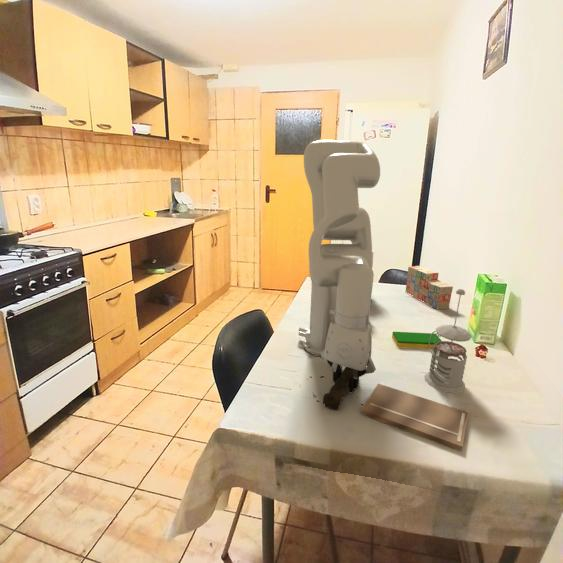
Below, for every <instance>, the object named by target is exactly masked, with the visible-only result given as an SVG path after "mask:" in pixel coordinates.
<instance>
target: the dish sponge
mask: <svg viewBox="0 0 563 563" xmlns="http://www.w3.org/2000/svg"><path fill="white" fill-rule="evenodd" d="M431 334H432V333H431V332H430V333H429V332H414V331H413V332H412V331H411V332H410V331H409V332H407V331H392V335H391V338H392V341H393V342H394V344H395V346H396V348H397V347H398V348H405V347H406V348H408V349H409V348H410V349H411V348H412V349H429V338H430V349H431V350H433V348H435V347H436V346H435V345H434V339H435V335H436V334H437V333H435V332H434V333H433V334H432V336H431V337H430V335H431ZM439 341H443V340H442V339H441V337H439V336H438V334H437V335H436V340H435V344H436V343H437V342H439ZM406 348H405V349H406ZM430 349H429V350H430Z"/></svg>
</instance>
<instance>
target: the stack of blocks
mask: <svg viewBox="0 0 563 563" xmlns="http://www.w3.org/2000/svg"><path fill="white" fill-rule="evenodd" d="M453 288H454V287H453V286H452V285H451V284H448V283H446V282H443V281H441V280H439V272H437V271H436V270H432V269H430V268H427V267H424V266H422V265H415V266H414V265H412V266H409V265H408V269H407V276H406V285H405V293H406V292H407V293H406V294H408V293H409V294H411V295H413V296H414V297H413V296H412V297H413V298H415V297H416V298H418V299H417V300H419V299H420V300H422V301H424V302H425V303H424V302H423V303H424V304H426V303H427V304H426V305H427V306H430V307H431V306H432V308H433V307H434V308H433V309H435V308H436V309H435V310H439V308H442V309H449V308H450V303H451V299H452V298H451V297H452V293H453ZM409 294H408V295H409ZM411 295H410V296H411ZM416 298H415V299H416ZM420 300H419V301H420ZM422 301H421V302H422ZM448 307H449V308H448Z"/></svg>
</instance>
